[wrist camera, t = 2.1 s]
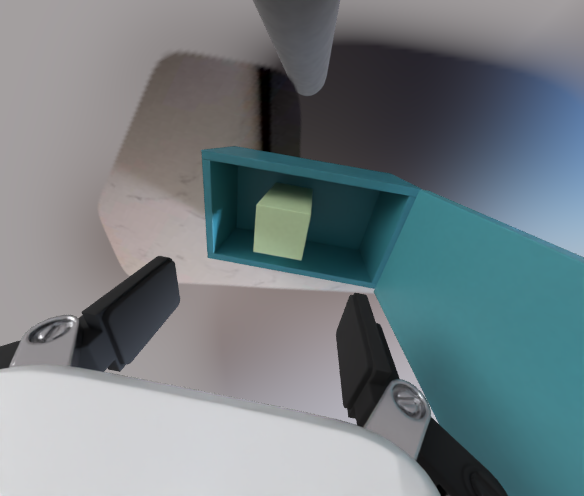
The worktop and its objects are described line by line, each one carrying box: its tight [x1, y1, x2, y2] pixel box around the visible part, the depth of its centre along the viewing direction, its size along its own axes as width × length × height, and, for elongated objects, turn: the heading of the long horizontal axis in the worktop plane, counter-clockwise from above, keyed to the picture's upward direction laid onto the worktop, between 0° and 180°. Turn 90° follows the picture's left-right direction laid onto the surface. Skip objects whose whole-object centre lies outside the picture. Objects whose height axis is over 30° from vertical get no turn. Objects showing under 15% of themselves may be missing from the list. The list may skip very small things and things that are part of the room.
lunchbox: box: [202, 146, 421, 289], centre depth 22 cm, size 18×10×8 cm, turn 81°
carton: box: [253, 183, 313, 260], centre depth 21 cm, size 4×4×9 cm
